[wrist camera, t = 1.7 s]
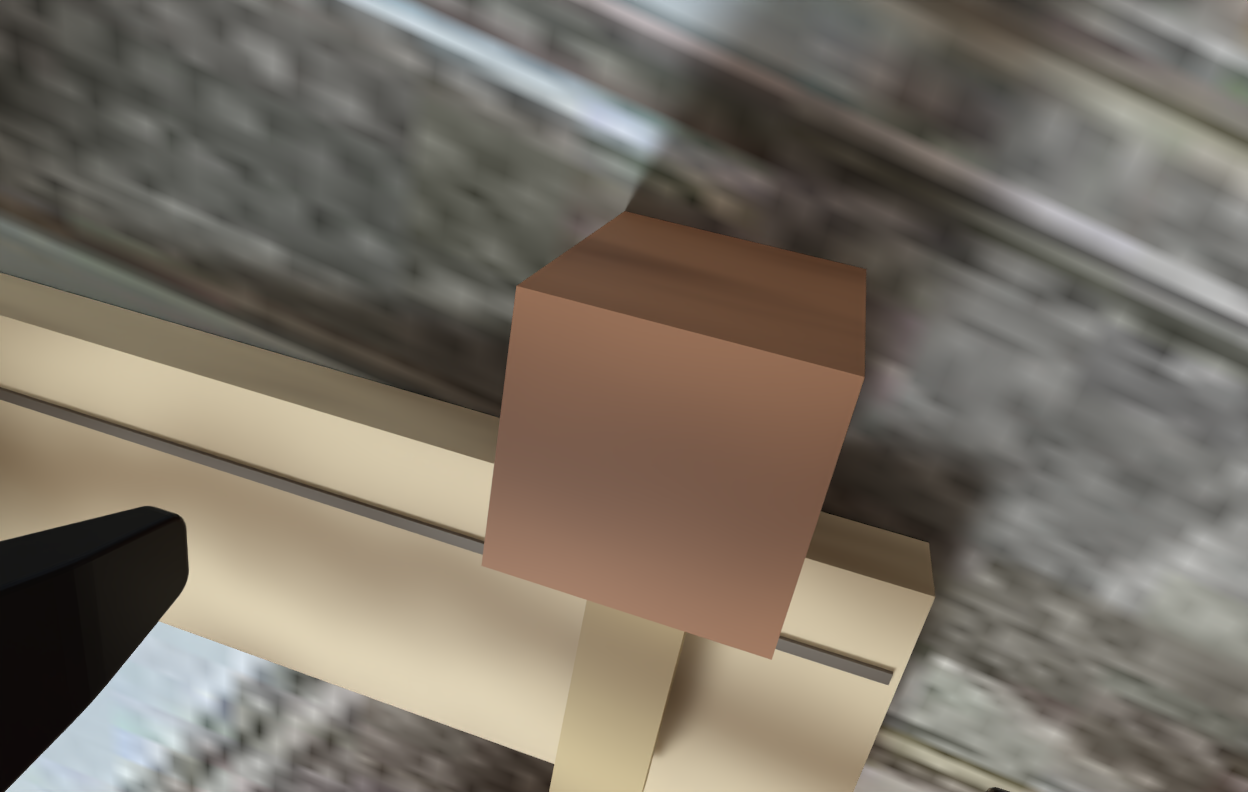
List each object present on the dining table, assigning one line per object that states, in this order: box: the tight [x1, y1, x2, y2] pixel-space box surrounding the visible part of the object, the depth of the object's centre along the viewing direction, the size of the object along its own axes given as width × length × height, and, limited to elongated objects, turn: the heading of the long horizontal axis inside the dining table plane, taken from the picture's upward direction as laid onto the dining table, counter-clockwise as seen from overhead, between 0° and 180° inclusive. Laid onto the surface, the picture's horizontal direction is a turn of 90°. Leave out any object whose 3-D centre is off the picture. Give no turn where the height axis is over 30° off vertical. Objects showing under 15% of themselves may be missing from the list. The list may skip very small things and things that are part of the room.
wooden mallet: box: [481, 211, 866, 792], centre depth 17 cm, size 12×5×6 cm, turn 170°
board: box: [0, 273, 935, 792], centre depth 21 cm, size 8×25×2 cm, turn 80°
